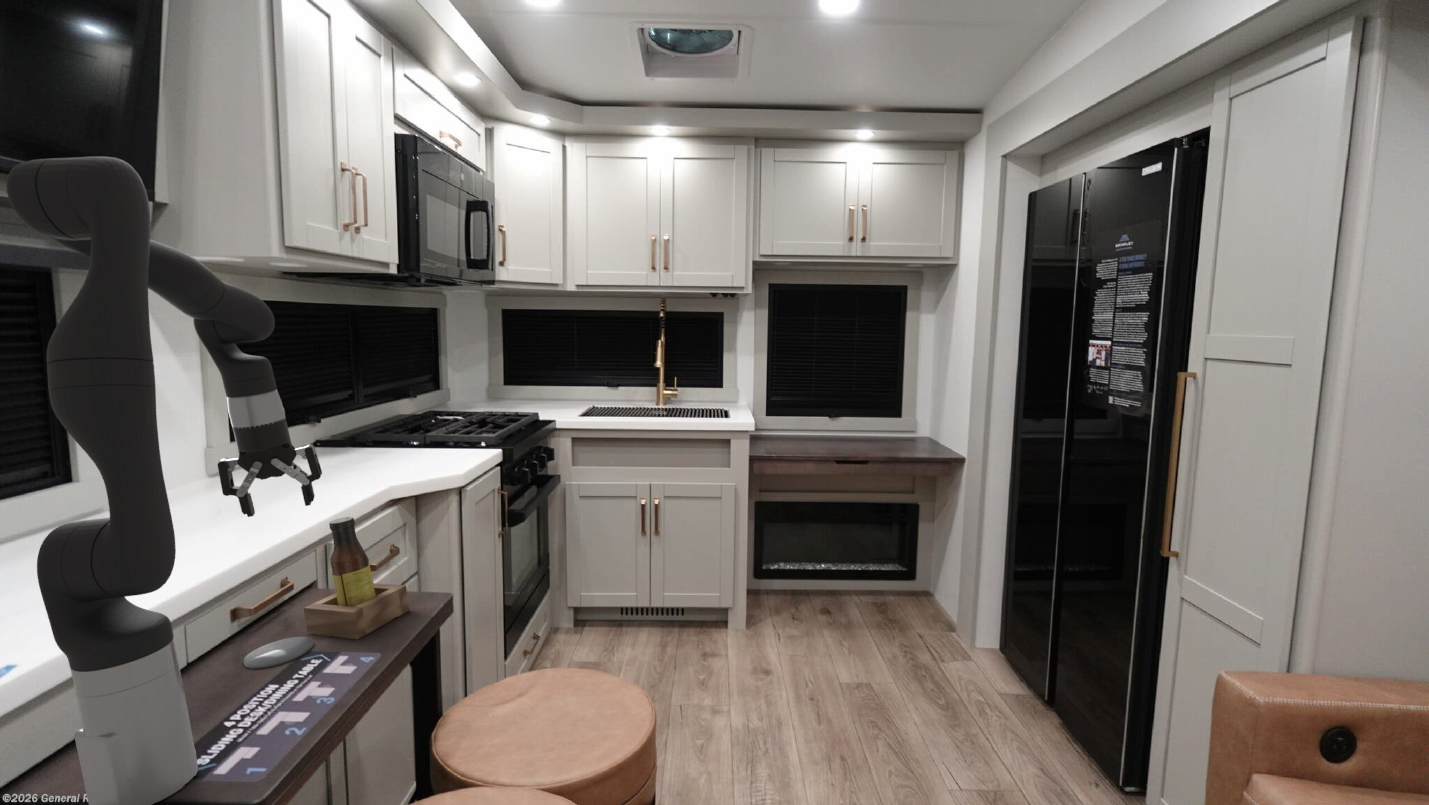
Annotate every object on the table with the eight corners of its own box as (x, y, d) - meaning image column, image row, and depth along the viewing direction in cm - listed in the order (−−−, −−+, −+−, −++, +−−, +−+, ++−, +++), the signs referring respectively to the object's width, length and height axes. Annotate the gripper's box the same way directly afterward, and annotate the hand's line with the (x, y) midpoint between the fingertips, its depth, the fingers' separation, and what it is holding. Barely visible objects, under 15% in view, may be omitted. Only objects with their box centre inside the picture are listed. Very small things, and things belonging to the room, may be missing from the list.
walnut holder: (357, 639, 118) (353, 612, 117) (307, 634, 122) (303, 608, 121) (409, 610, 129) (405, 585, 128) (362, 606, 133) (358, 582, 132)
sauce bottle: (386, 614, 128) (371, 513, 126) (366, 628, 122) (350, 523, 120) (354, 615, 129) (338, 515, 126) (332, 630, 123) (316, 525, 120)
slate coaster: (272, 671, 108) (271, 668, 108) (229, 665, 112) (229, 662, 112) (326, 642, 118) (326, 639, 117) (285, 638, 121) (285, 634, 121)
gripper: (201, 432, 106) (226, 527, 109) (304, 416, 111) (324, 507, 115) (213, 422, 112) (236, 511, 116) (310, 408, 118) (329, 494, 122)
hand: (280, 509), depth 116 cm, fingers open, 8 cm apart
